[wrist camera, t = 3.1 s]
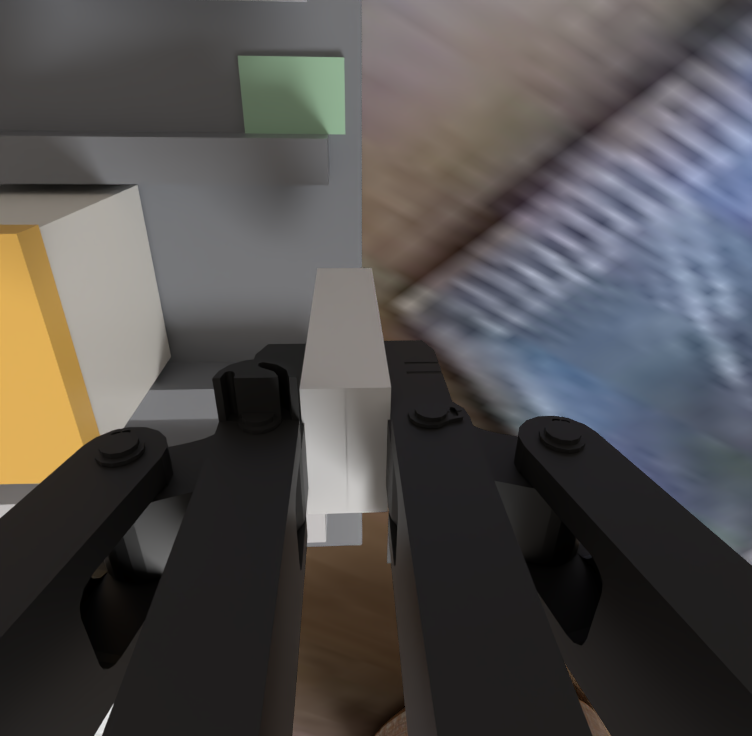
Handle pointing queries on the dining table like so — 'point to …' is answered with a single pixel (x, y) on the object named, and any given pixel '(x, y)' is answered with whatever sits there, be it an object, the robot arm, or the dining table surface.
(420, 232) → the dining table surface
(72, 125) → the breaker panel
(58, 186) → the block
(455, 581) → the robot arm
